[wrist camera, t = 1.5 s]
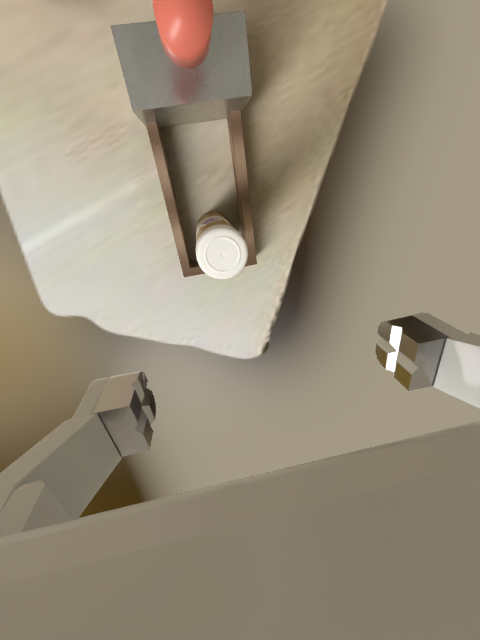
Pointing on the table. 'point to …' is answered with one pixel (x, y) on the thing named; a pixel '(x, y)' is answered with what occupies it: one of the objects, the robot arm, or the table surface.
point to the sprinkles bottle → (219, 247)
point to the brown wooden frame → (241, 189)
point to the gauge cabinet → (185, 73)
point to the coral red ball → (184, 30)
